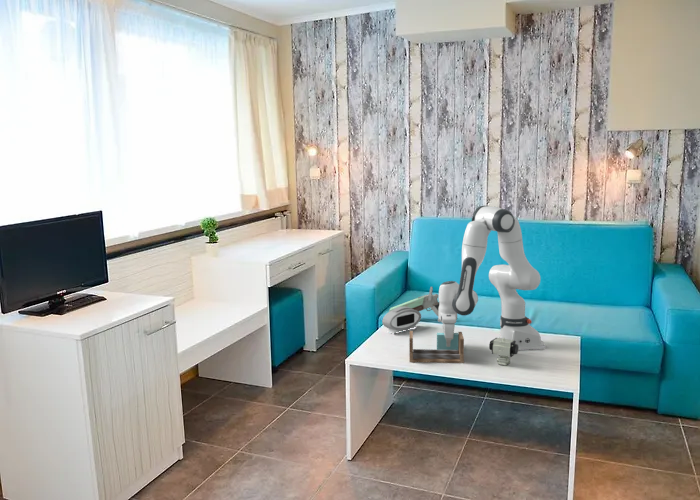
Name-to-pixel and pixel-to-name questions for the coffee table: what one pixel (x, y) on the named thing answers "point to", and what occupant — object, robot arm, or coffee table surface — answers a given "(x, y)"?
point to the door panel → (442, 342)
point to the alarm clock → (401, 319)
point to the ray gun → (423, 303)
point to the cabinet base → (437, 353)
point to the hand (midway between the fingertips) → (447, 343)
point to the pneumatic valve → (503, 349)
